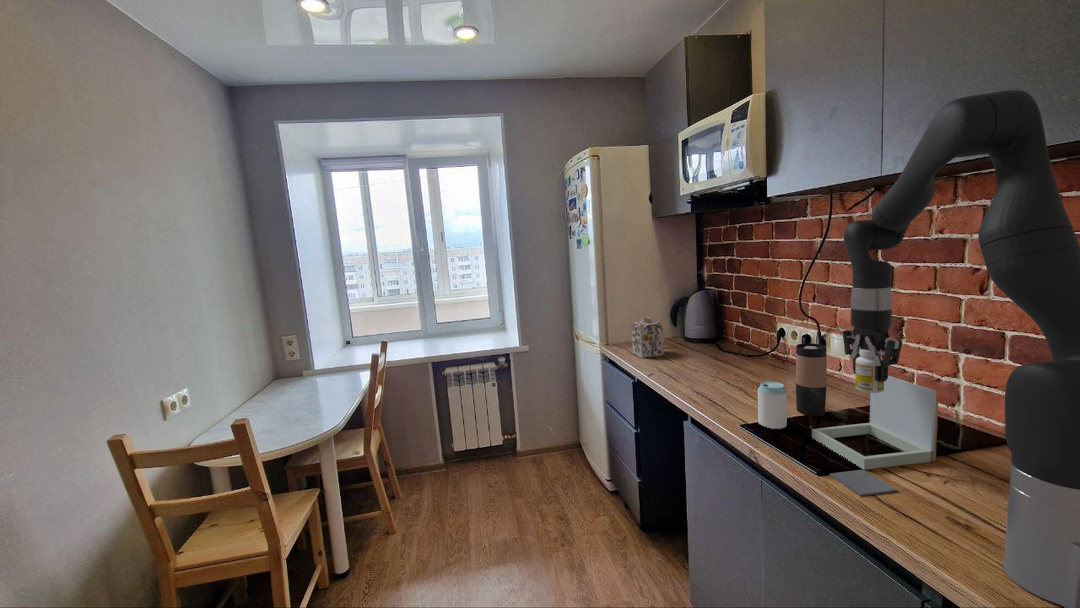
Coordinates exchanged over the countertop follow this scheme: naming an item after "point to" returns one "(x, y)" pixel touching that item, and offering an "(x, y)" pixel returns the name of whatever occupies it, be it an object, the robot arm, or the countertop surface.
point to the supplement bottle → (867, 373)
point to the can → (772, 405)
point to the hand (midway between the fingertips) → (869, 377)
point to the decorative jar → (647, 338)
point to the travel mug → (811, 378)
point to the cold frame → (892, 426)
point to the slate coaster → (863, 482)
